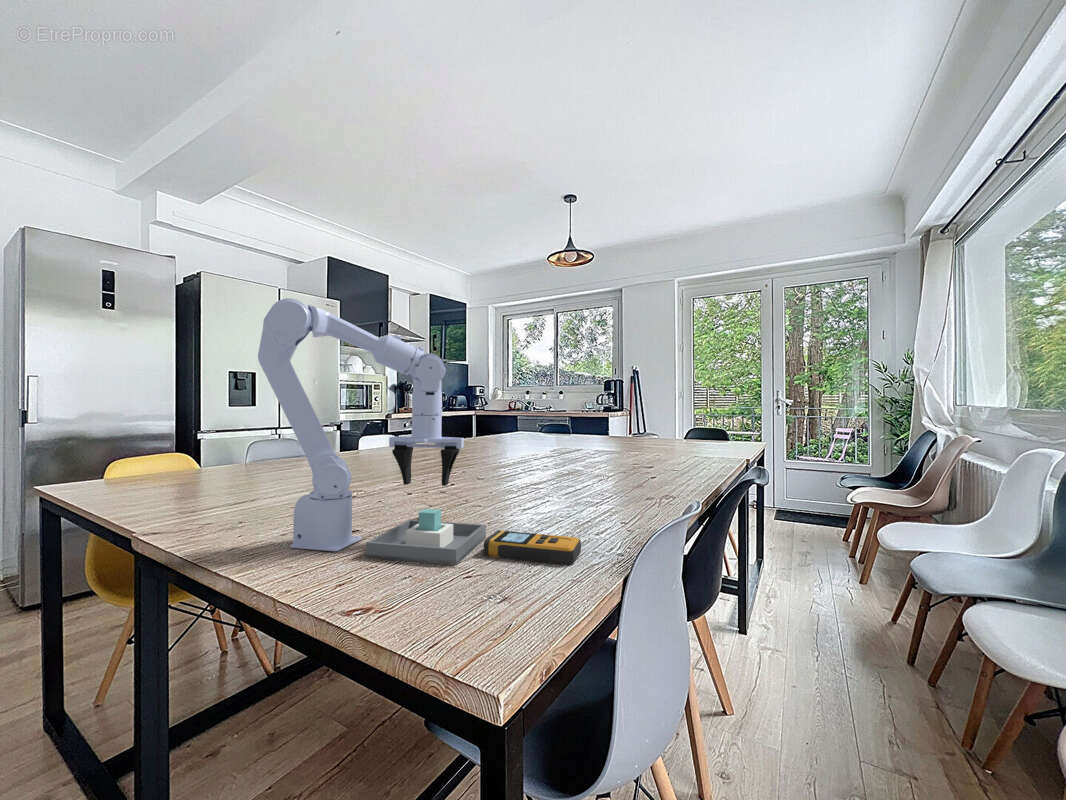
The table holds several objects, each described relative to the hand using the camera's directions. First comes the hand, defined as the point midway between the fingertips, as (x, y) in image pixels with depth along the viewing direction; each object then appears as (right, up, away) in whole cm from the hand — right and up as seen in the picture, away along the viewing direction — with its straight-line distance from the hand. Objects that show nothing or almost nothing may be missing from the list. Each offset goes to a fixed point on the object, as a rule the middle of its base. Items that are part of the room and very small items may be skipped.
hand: (426, 484), depth 95 cm
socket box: (+2, -10, -8) cm, 13 cm away
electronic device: (+21, -11, -11) cm, 26 cm away
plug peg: (+2, -10, -8) cm, 12 cm away
